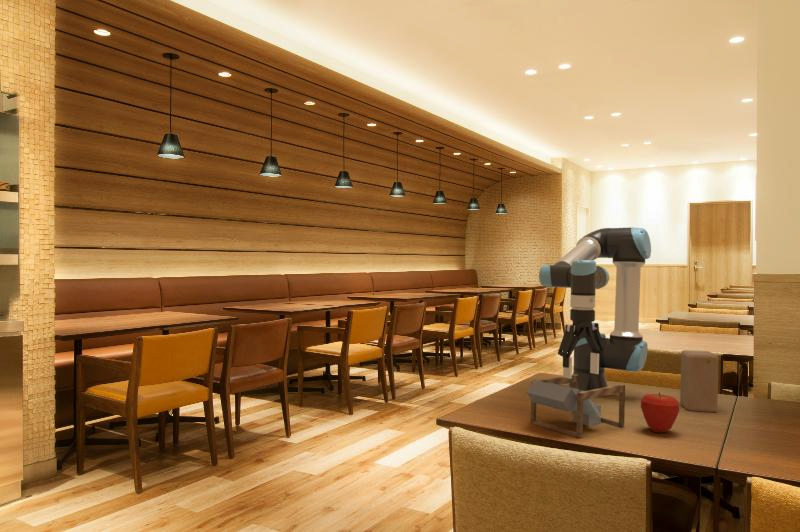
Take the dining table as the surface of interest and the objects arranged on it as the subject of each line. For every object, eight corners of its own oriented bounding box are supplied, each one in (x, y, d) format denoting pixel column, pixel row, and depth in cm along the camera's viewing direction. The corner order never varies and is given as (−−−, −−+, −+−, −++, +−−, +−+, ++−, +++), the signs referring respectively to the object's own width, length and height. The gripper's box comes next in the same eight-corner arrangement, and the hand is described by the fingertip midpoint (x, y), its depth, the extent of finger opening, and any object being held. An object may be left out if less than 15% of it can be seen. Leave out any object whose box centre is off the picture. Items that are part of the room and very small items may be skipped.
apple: (659, 438, 171) (660, 397, 171) (631, 428, 181) (632, 389, 181) (687, 434, 175) (688, 394, 175) (658, 425, 185) (659, 387, 185)
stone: (589, 407, 183) (602, 404, 186) (573, 403, 187) (586, 400, 191) (588, 426, 183) (601, 423, 187) (573, 421, 188) (586, 418, 191)
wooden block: (718, 413, 201) (719, 355, 201) (687, 411, 203) (688, 354, 203) (708, 406, 211) (710, 351, 211) (679, 404, 213) (680, 349, 213)
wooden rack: (579, 438, 170) (580, 393, 170) (530, 422, 185) (531, 381, 185) (624, 426, 183) (625, 384, 183) (574, 413, 198) (575, 374, 198)
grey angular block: (565, 402, 168) (579, 379, 172) (524, 391, 181) (538, 370, 184) (589, 438, 175) (602, 415, 179) (548, 425, 188) (561, 404, 191)
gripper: (566, 311, 174) (565, 382, 174) (616, 308, 189) (615, 373, 189) (547, 309, 180) (545, 377, 180) (596, 306, 195) (595, 369, 195)
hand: (581, 375), depth 185 cm, fingers open, 13 cm apart
